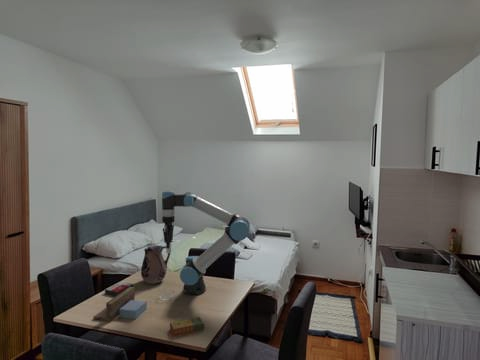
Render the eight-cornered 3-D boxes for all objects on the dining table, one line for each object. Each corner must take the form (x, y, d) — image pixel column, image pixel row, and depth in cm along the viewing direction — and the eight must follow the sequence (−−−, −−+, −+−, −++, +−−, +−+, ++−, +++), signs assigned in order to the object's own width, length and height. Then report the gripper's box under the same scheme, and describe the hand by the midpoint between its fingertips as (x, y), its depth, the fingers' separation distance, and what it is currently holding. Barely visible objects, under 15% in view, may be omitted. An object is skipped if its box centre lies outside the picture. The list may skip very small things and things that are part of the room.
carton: (169, 329, 170) (169, 321, 170) (199, 323, 177) (199, 316, 176) (173, 337, 163) (173, 329, 162) (204, 331, 169) (204, 323, 169)
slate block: (146, 310, 192) (146, 301, 192) (135, 319, 180) (135, 310, 180) (131, 308, 194) (131, 300, 194) (119, 317, 182) (119, 309, 182)
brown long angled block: (134, 303, 201) (134, 287, 200) (111, 321, 177) (111, 303, 177) (118, 301, 203) (118, 285, 202) (93, 319, 180) (93, 301, 179)
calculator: (104, 288, 214) (121, 280, 227) (104, 295, 214) (122, 286, 228) (116, 291, 209) (133, 283, 223) (117, 298, 210) (134, 289, 223)
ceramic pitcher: (136, 281, 237) (136, 247, 236) (162, 274, 251) (162, 242, 250) (148, 288, 224) (148, 252, 223) (175, 280, 238) (175, 247, 237)
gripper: (166, 214, 213) (167, 249, 214) (158, 217, 200) (158, 255, 201) (177, 214, 211) (178, 250, 213) (169, 217, 198) (170, 256, 200)
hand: (168, 252), depth 207 cm, fingers closed
